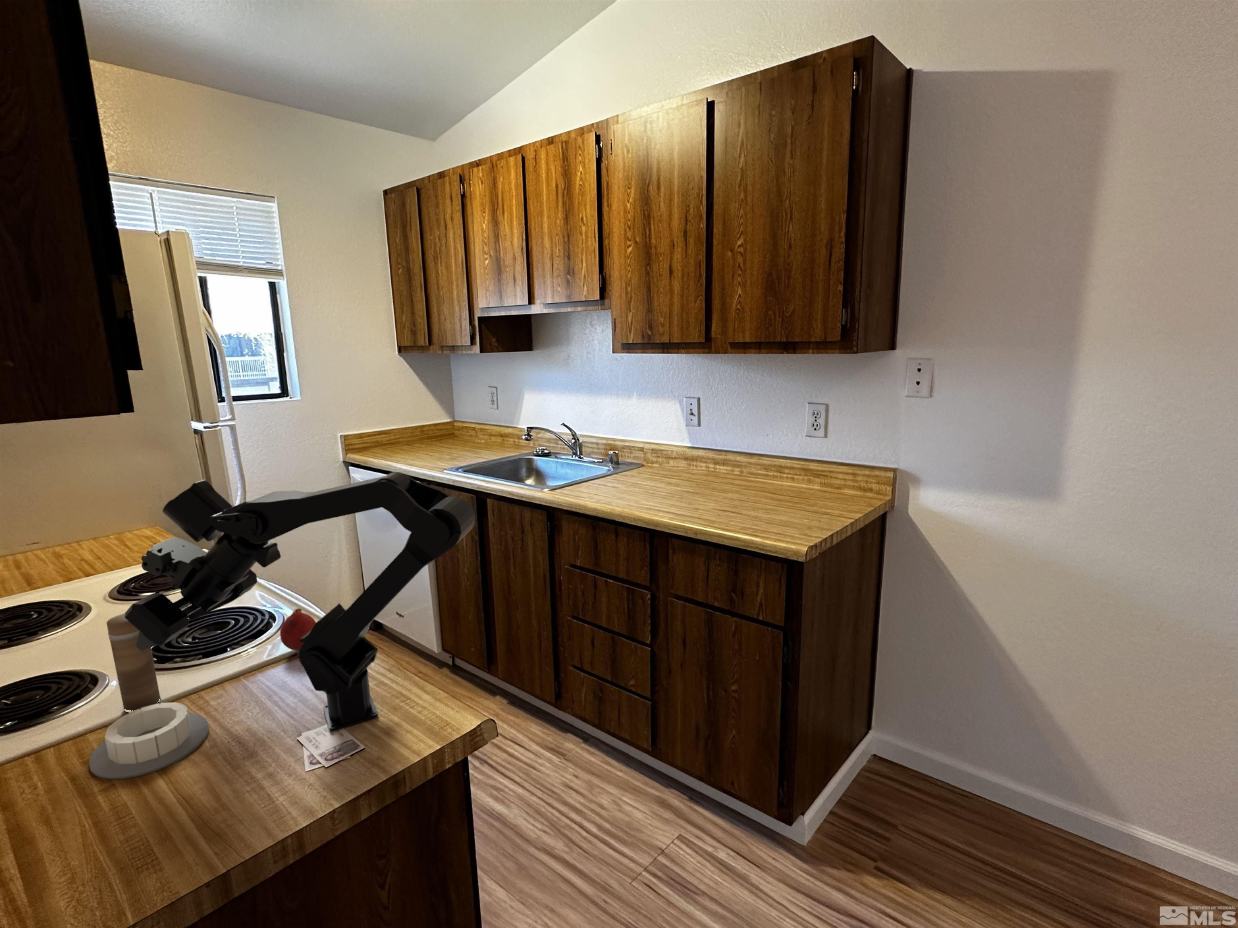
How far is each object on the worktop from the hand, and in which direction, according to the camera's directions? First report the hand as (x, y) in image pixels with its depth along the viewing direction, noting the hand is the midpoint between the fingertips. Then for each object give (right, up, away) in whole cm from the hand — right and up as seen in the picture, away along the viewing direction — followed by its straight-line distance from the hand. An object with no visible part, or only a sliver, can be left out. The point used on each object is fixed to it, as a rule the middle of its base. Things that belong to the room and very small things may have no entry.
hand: (165, 632), depth 91 cm
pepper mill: (-6, -12, +3) cm, 13 cm away
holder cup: (+3, -14, -6) cm, 15 cm away
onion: (+11, -8, +18) cm, 23 cm away
